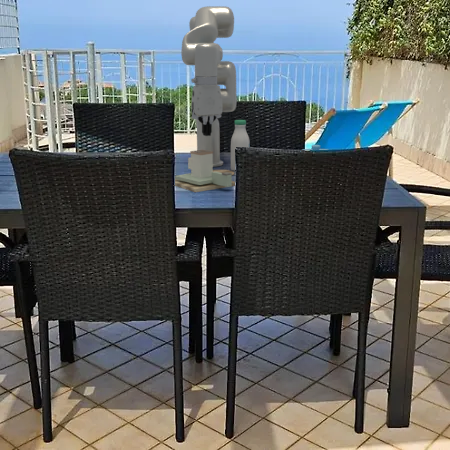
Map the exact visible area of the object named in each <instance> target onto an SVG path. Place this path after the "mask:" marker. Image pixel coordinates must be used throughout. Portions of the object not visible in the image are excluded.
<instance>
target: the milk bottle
mask: <svg viewBox="0 0 450 450" xmlns="http://www.w3.org/2000/svg"><path fill="white" fill-rule="evenodd" d="M246 126H247V120H246V119H235V120H234V131H233V134H232V137H231V139H230V171H233V172H236V171H235V149H236V147H251V145H250V144H251V143H250V137H249V135H248V133H247V130H246Z"/></svg>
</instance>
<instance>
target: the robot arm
mask: <svg viewBox="0 0 450 450" xmlns="http://www.w3.org/2000/svg"><path fill="white" fill-rule="evenodd" d="M188 23H189V25H188V26H189V31H188V32H187V33H186V34H185V35H184V36H183V39H182V40H181V51H180V53H181V60H182V62H183V63H184V64H185V65H186V66H194V77H193V78H191V79H190V80H191V81H190V82H191V83H193V84H194V85H193V88H192V93H191V94H192V95H191V110H190V111H191V119H193V120H196V150H208V151H213V153H212V155H213V167H214V168H215V167H220V166H223V165H224V161H223V160H221V159H220V158H221V157H220V154H221V153H220V152H221V151H220V148H221V147H220V146H221V145H220V121H219V119H220V118H222V114H223V113H229V112H234V111H235V110H236V109H237V70H236V66H235V64H234V63H233V62H232V61H230V60H229V61H228V60H223V58H224V54H223V53H224V52H223V48H222V47H221V45H220V44H218V43H215V41H216V40H217V39H218V38H219V39H223V38H224V39H228V38H230V37H232V36H233V33H234V29H235V15H234V12H233V10H232V8H230V7H229V6H222V5H221V6H220V5H219V6H210V5H209V6H202V7H200V8H199V9H197V11H196V12H195V15H194V16H193V17H191V18H190V20H189V22H188ZM221 86H223V87H224V88H221Z"/></svg>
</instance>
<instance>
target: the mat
mask: <svg viewBox="0 0 450 450" xmlns="http://www.w3.org/2000/svg"><path fill="white" fill-rule="evenodd" d="M213 172H220V173H225V172H229V173H232V176H234V175H235V171H234V170H231V169H230V170H229V169H213Z"/></svg>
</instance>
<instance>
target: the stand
mask: <svg viewBox="0 0 450 450" xmlns="http://www.w3.org/2000/svg"><path fill="white" fill-rule="evenodd" d="M174 179H175V178H174ZM235 182H236V181H234V180H232V186H231V187H235ZM175 187H178V188H180V189H184V190H188V191H190V192H193V193H200V192H204V191H211V190H216V189H223V188H226V187H225V186H221V185H217V184H213V183H208V184H203V185H197V184H193V183H189V182H185V181H181V180H177V179H175Z"/></svg>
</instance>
